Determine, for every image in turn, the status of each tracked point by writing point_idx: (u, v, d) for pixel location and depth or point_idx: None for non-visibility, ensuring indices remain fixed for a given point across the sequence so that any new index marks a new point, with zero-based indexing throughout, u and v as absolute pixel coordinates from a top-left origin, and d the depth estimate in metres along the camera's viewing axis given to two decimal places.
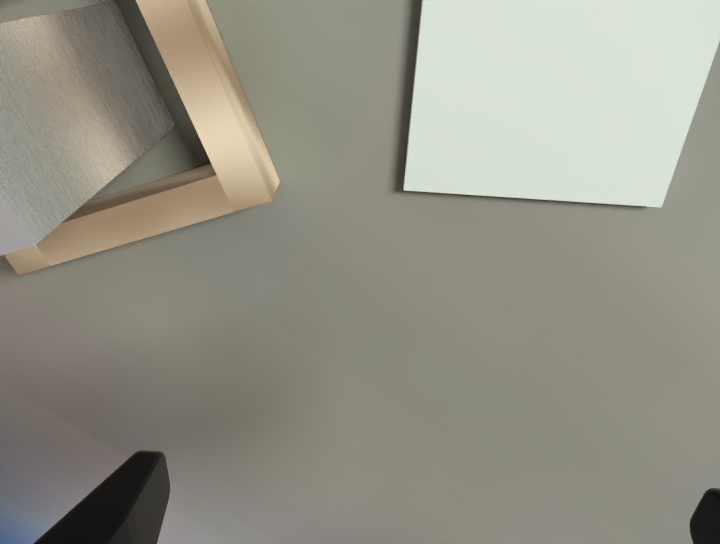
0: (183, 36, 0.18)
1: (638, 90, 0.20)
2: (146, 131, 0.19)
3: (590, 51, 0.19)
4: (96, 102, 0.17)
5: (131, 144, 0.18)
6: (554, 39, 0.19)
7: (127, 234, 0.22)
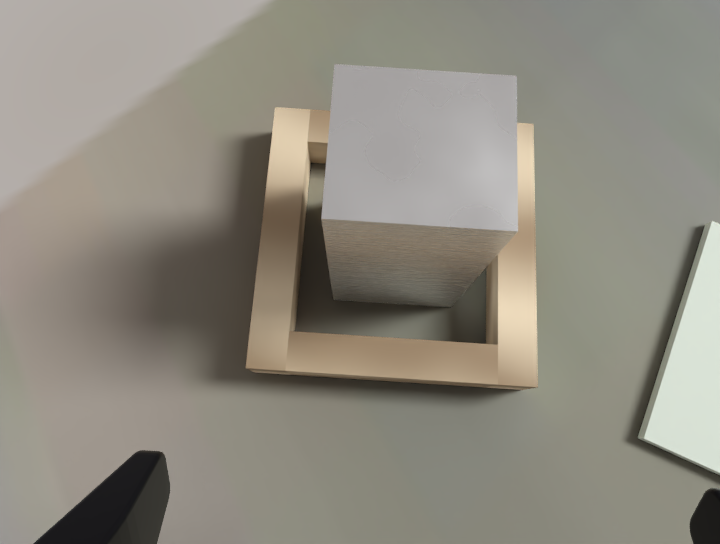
0: (521, 233, 0.23)
1: None
2: None
3: None
4: None
5: None
6: None
7: (383, 367, 0.21)
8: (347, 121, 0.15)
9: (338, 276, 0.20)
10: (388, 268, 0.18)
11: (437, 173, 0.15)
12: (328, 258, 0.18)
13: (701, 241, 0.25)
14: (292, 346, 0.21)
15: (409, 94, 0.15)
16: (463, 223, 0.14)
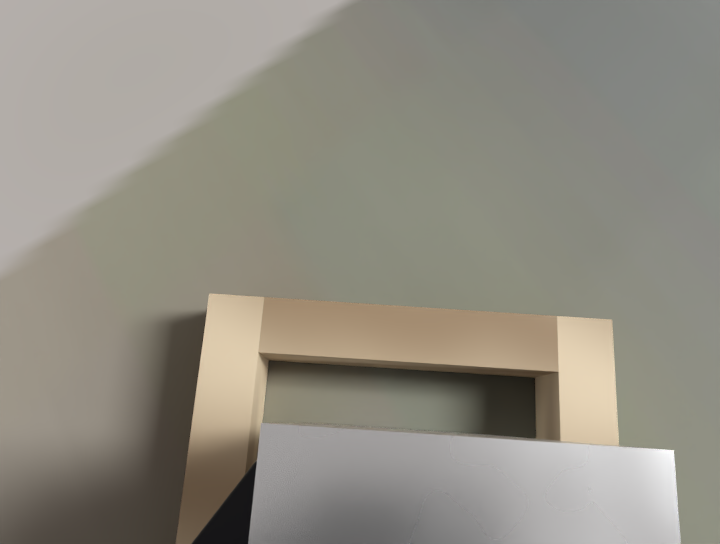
0: None
1: None
2: None
3: None
4: None
5: None
6: None
7: None
8: None
9: None
10: None
11: None
12: None
13: None
14: None
15: (431, 504, 0.07)
16: None
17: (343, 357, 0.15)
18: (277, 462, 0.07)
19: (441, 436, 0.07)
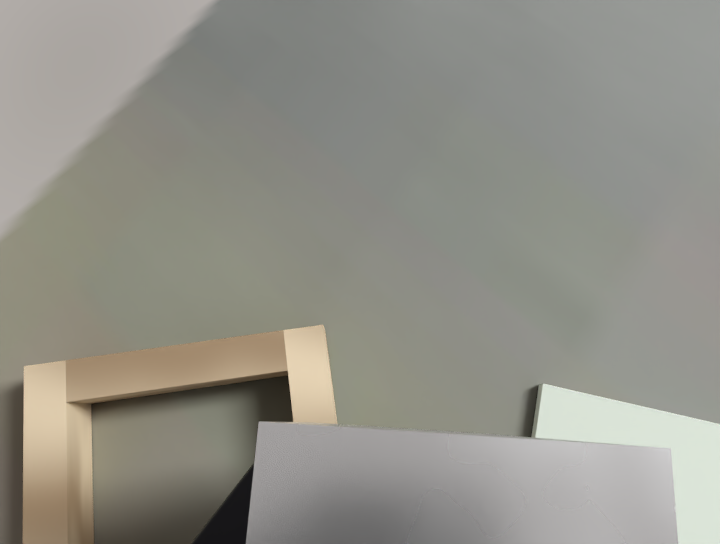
0: None
1: None
2: None
3: (682, 542, 0.21)
4: None
5: None
6: None
7: None
8: None
9: None
10: None
11: None
12: None
13: (536, 407, 0.22)
14: None
15: (429, 502, 0.07)
16: None
17: (130, 392, 0.20)
18: (275, 460, 0.07)
19: (439, 434, 0.07)
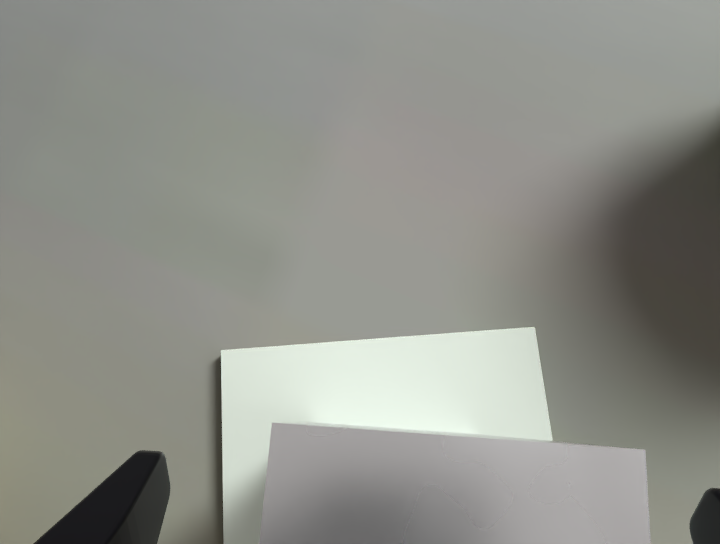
0: None
1: None
2: None
3: None
4: None
5: None
6: None
7: None
8: None
9: None
10: None
11: None
12: None
13: None
14: None
15: (425, 496, 0.07)
16: None
17: None
18: (286, 458, 0.07)
19: (434, 435, 0.08)
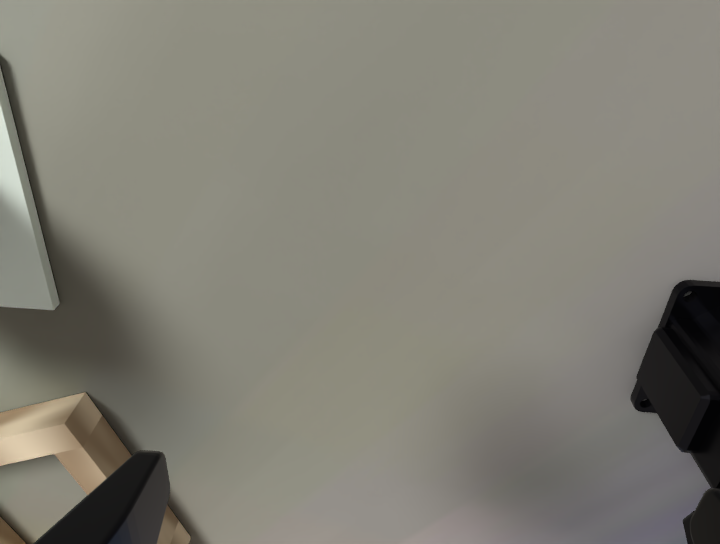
0: None
1: None
2: None
3: None
4: None
5: None
6: None
7: None
8: None
9: None
10: None
11: None
12: None
13: None
14: None
15: None
16: None
17: None
18: None
19: None
